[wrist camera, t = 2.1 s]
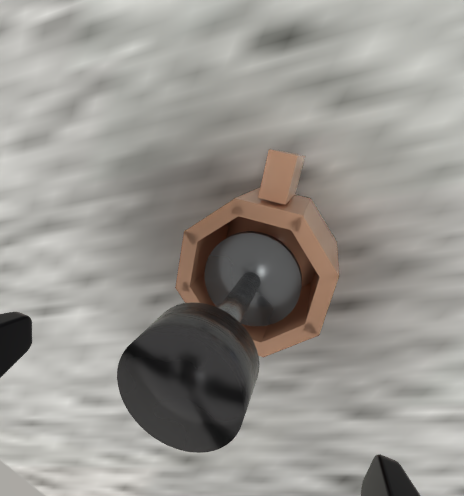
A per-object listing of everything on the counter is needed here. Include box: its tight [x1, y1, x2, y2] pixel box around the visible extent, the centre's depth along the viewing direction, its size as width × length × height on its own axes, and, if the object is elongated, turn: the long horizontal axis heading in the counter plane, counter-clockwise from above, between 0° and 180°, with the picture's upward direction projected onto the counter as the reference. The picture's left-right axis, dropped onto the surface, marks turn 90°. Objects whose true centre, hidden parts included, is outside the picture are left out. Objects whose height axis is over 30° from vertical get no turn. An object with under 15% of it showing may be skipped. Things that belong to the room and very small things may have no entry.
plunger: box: [117, 231, 302, 453], centre depth 11 cm, size 4×4×8 cm
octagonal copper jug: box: [175, 150, 339, 357], centre depth 16 cm, size 7×9×6 cm
